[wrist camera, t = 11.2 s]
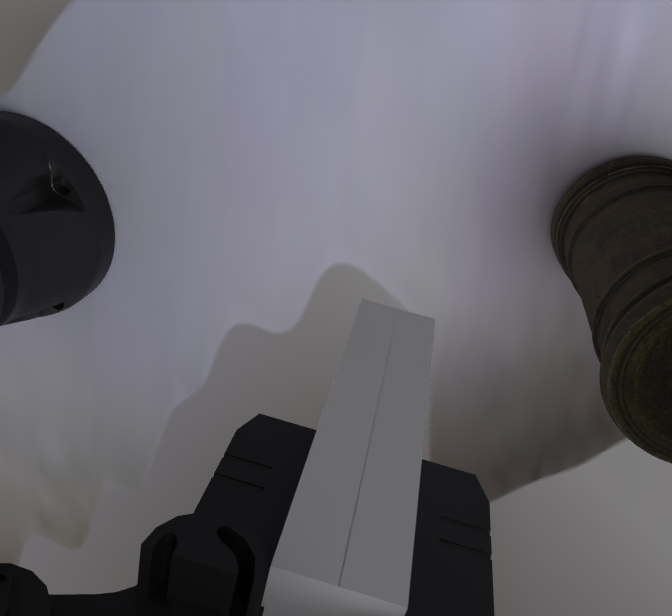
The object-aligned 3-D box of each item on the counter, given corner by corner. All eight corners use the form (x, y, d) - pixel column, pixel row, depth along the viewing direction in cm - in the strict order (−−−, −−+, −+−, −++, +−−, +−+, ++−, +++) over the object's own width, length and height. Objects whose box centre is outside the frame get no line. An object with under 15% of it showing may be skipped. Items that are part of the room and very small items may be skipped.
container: (523, 214, 40) (544, 359, 24) (658, 120, 36) (789, 219, 20) (604, 317, 42) (674, 514, 26) (742, 238, 38) (921, 414, 22)
